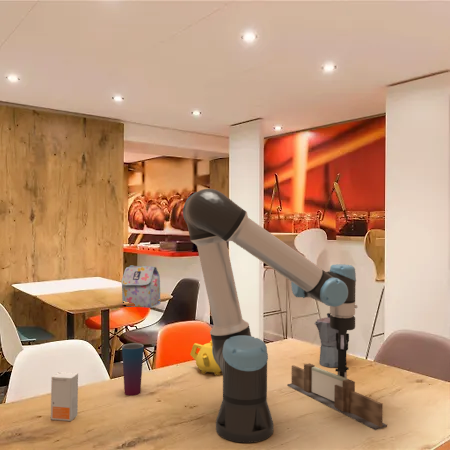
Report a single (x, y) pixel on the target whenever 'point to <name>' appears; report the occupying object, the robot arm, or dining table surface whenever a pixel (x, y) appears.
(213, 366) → the teapot
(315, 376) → the beige flat panel
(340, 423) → the dining table surface
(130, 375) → the cup
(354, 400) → the fence
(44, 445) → the dining table surface
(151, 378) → the dining table surface
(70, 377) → the skincare box
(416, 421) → the dining table surface
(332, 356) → the moka pot
